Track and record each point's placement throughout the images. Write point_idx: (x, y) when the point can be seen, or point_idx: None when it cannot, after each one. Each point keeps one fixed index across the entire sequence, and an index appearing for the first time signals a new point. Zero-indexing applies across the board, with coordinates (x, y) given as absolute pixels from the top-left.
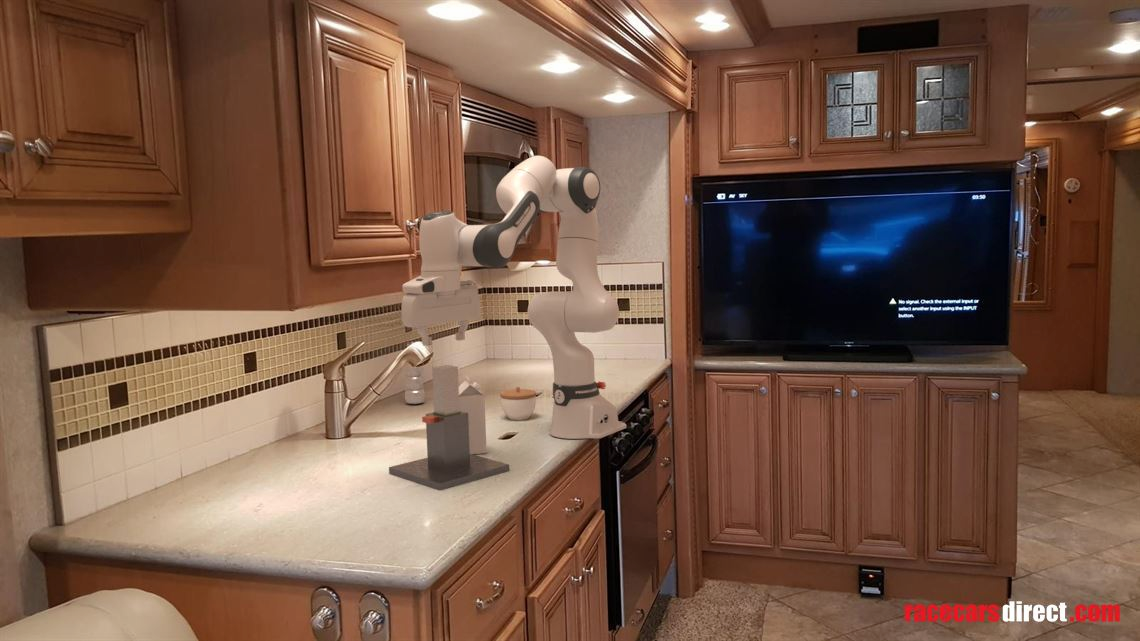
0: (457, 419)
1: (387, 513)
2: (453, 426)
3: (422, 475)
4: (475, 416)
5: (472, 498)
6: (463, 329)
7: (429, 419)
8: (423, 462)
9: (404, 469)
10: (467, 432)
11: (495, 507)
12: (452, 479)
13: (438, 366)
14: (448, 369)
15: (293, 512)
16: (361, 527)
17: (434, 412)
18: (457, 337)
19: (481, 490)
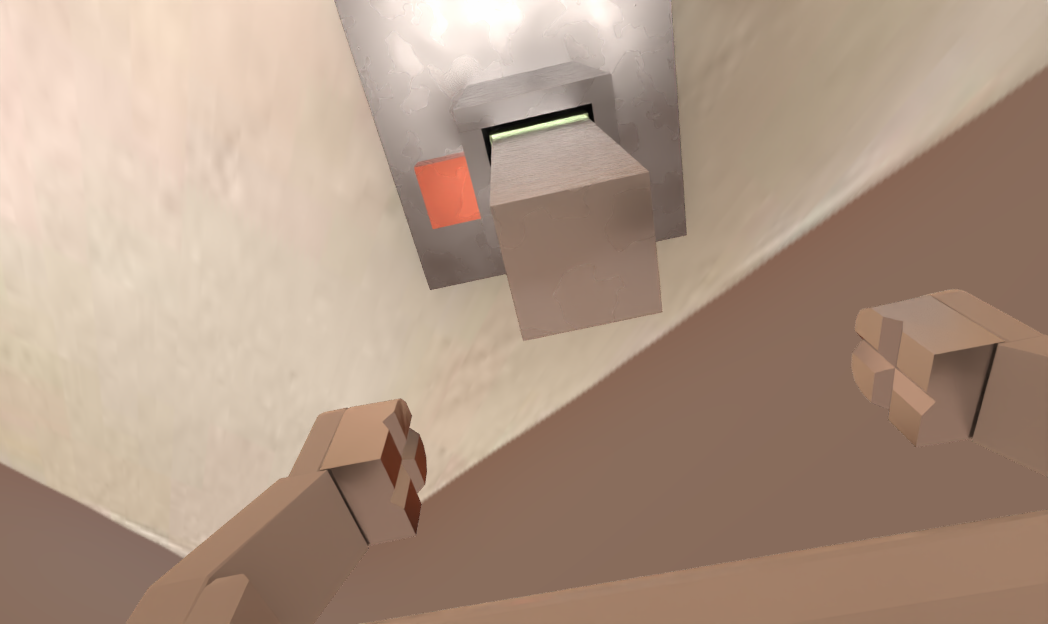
0: None
1: (263, 367)
2: None
3: (412, 184)
4: None
5: (477, 377)
6: (1044, 462)
7: (432, 224)
8: (471, 19)
9: (379, 71)
10: None
11: (492, 447)
12: (475, 275)
13: (553, 198)
14: (572, 324)
15: (9, 233)
16: (195, 415)
17: (491, 144)
18: (879, 356)
19: None
